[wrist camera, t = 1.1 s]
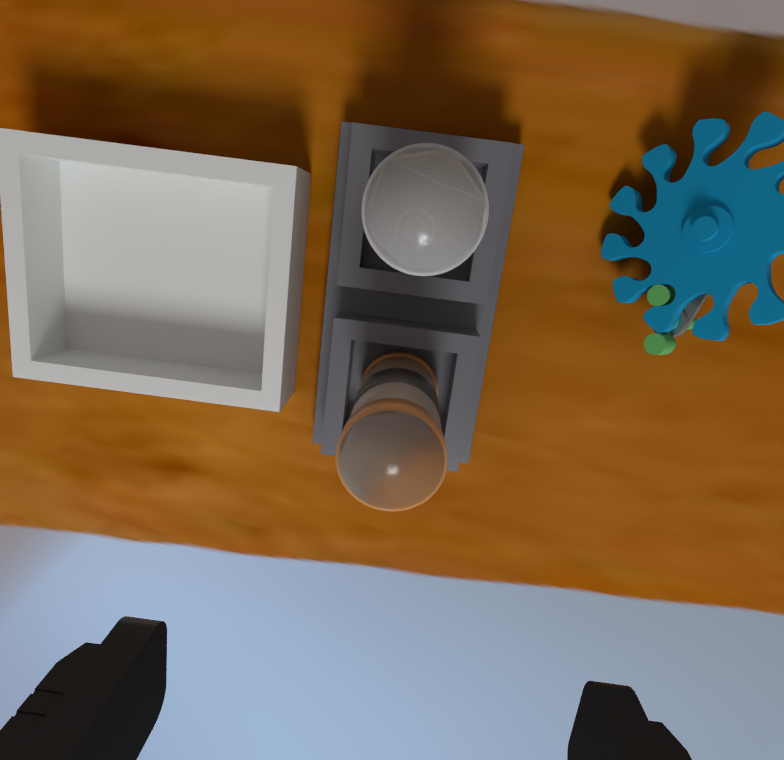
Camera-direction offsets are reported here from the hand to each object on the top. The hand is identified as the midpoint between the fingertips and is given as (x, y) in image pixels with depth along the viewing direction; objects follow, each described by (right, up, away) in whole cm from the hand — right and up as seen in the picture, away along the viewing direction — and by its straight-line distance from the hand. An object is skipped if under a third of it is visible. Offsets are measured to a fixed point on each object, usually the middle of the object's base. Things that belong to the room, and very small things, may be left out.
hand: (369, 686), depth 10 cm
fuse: (+2, +14, +17) cm, 22 cm away
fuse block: (+1, +10, +20) cm, 22 cm away
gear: (+15, +13, +18) cm, 27 cm away
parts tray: (-11, +12, +20) cm, 26 cm away
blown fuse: (+1, +5, +20) cm, 20 cm away
